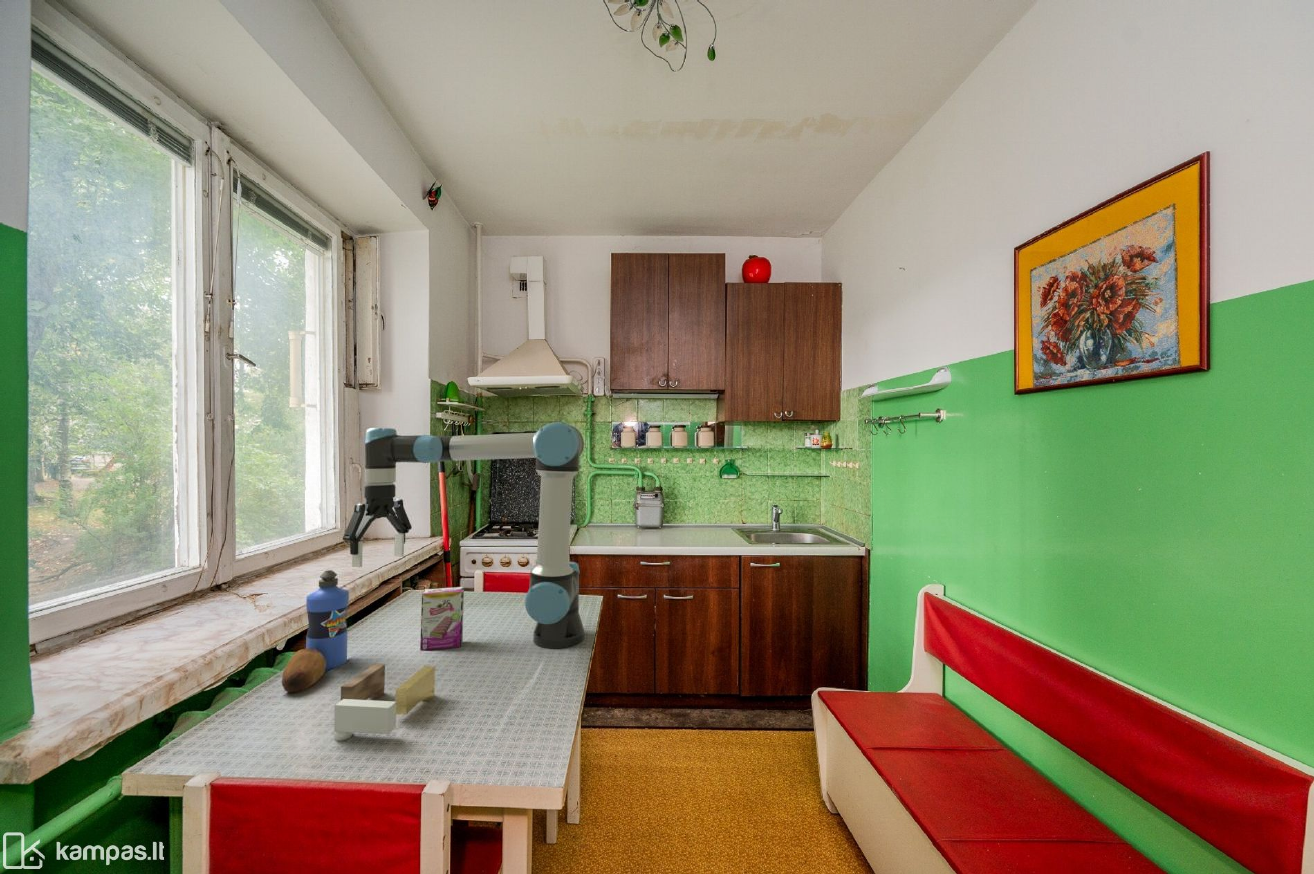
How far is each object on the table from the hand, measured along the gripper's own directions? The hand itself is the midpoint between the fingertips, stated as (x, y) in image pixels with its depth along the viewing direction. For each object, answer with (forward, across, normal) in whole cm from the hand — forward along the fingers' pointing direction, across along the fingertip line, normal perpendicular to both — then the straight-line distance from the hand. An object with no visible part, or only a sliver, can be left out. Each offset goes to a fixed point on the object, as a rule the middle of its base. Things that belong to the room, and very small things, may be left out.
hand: (379, 561), depth 138 cm
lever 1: (+25, +22, +20) cm, 39 cm away
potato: (+26, +19, -2) cm, 33 cm away
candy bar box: (+26, -12, +11) cm, 31 cm away
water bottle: (+26, +9, -8) cm, 29 cm away
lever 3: (+25, +19, +32) cm, 45 cm away
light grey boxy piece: (+25, +31, +31) cm, 51 cm away
